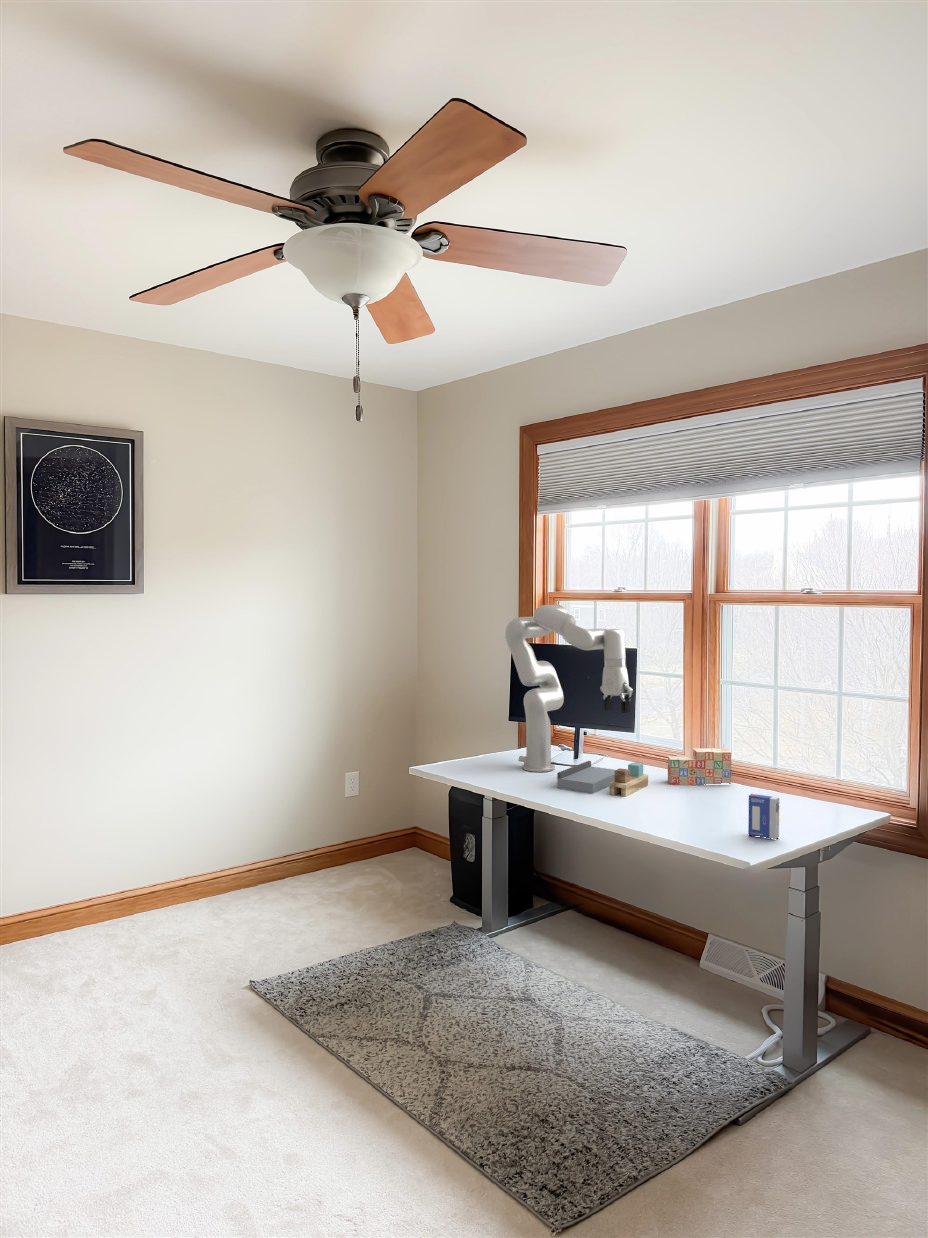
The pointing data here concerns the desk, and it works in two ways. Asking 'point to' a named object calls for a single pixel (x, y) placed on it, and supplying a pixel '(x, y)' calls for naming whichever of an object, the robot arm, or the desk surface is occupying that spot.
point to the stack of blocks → (700, 767)
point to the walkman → (763, 816)
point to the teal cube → (635, 769)
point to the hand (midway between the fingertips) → (617, 711)
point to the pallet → (628, 785)
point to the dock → (585, 778)
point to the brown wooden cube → (622, 775)
